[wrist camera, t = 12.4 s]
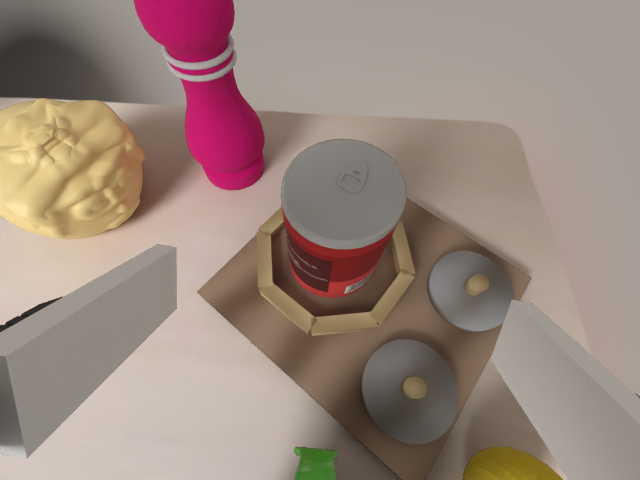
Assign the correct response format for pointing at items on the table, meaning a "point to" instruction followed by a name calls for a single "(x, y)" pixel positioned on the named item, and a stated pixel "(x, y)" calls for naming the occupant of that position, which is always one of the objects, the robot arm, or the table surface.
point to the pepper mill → (208, 86)
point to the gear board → (379, 331)
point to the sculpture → (67, 168)
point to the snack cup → (315, 464)
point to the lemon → (507, 466)
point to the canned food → (340, 214)
